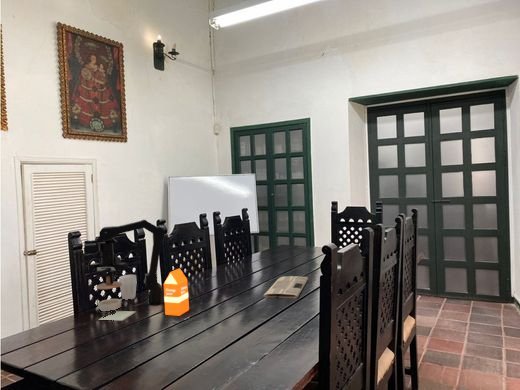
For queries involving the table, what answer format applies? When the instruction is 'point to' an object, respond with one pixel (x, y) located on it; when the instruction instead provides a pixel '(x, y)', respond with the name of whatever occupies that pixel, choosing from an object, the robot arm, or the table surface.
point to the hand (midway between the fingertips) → (109, 283)
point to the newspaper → (287, 287)
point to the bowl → (109, 304)
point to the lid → (108, 284)
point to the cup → (128, 286)
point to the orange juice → (176, 293)
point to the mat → (118, 316)
